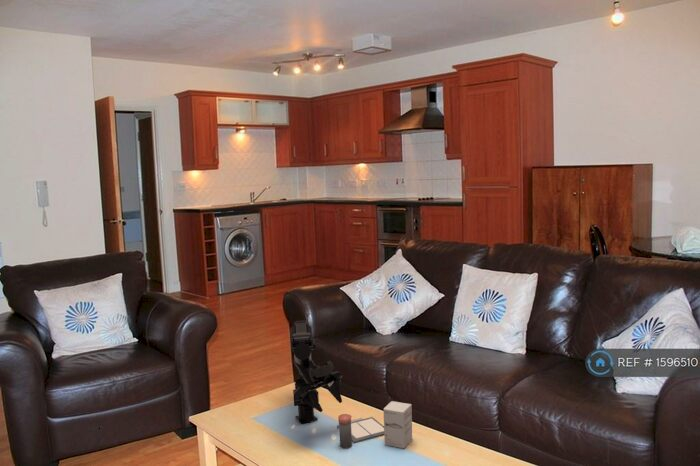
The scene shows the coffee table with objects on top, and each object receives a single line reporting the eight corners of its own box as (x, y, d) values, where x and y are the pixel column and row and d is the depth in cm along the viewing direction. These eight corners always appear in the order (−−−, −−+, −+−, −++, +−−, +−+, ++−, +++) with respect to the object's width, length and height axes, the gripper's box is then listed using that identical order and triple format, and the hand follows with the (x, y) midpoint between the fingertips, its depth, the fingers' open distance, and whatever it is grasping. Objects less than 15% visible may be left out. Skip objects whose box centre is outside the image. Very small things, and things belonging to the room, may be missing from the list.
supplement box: (383, 445, 195) (382, 408, 193) (393, 435, 201) (391, 400, 200) (404, 449, 191) (403, 412, 190) (413, 439, 198) (412, 403, 196)
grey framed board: (337, 427, 210) (336, 423, 210) (372, 418, 216) (372, 414, 215) (354, 443, 197) (354, 439, 197) (391, 433, 203) (390, 429, 203)
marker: (337, 444, 197) (336, 415, 196) (349, 441, 199) (347, 413, 197) (343, 449, 193) (341, 420, 192) (354, 446, 195) (353, 417, 194)
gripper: (297, 363, 193) (322, 403, 187) (337, 348, 207) (362, 385, 200) (282, 381, 199) (307, 421, 193) (322, 365, 213) (346, 402, 207)
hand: (331, 406), depth 198 cm, fingers open, 9 cm apart
